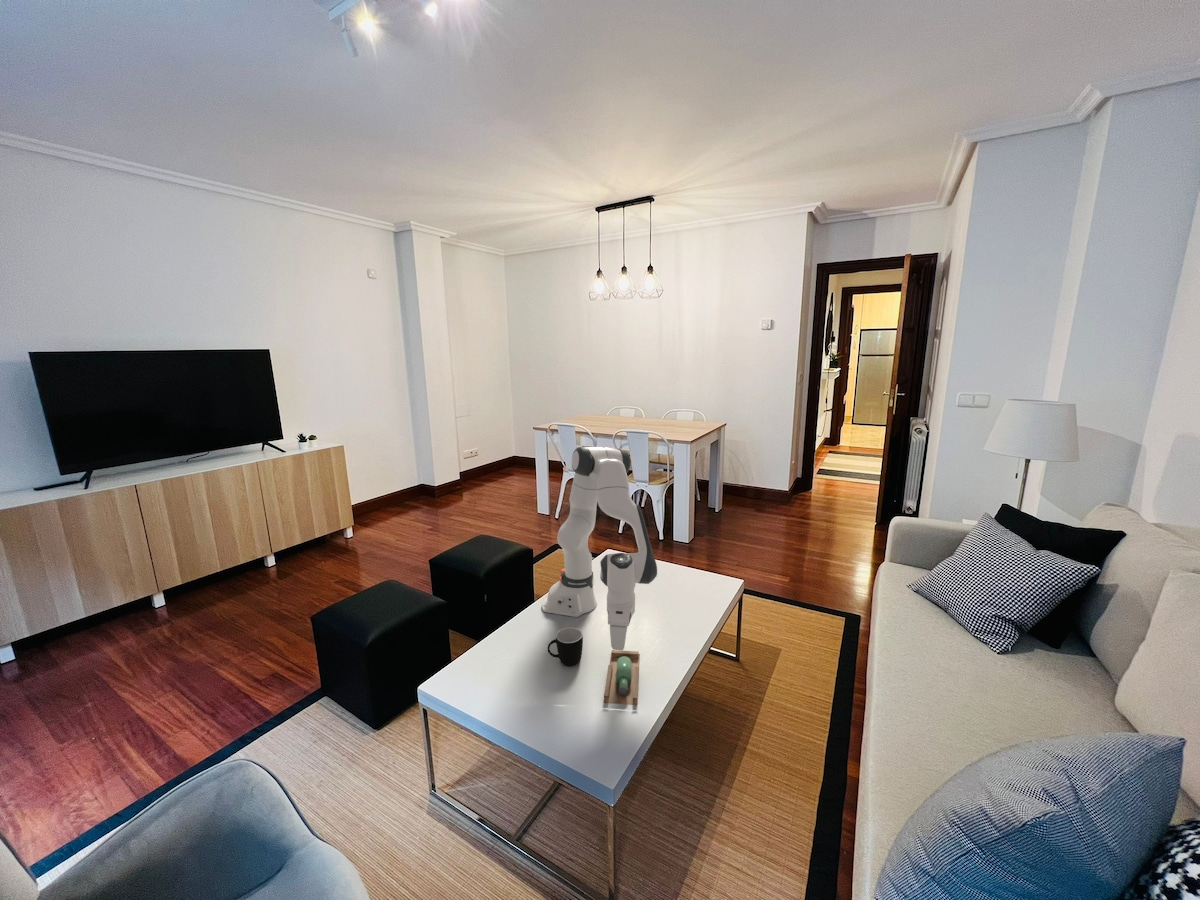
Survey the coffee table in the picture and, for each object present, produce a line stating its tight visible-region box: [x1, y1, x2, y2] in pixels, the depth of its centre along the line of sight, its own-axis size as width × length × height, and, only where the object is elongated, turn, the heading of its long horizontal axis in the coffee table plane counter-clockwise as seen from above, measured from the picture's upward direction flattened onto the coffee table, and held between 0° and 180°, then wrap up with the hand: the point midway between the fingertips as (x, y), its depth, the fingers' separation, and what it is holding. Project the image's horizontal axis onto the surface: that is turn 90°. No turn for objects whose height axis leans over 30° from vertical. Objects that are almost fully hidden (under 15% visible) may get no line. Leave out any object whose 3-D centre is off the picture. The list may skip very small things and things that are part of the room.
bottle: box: [616, 656, 632, 697], centre depth 151 cm, size 5×5×14 cm
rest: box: [603, 649, 641, 706], centre depth 155 cm, size 10×24×3 cm, turn 173°
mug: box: [547, 626, 584, 668], centre depth 162 cm, size 12×9×10 cm
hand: (620, 644), depth 153 cm, fingers closed
